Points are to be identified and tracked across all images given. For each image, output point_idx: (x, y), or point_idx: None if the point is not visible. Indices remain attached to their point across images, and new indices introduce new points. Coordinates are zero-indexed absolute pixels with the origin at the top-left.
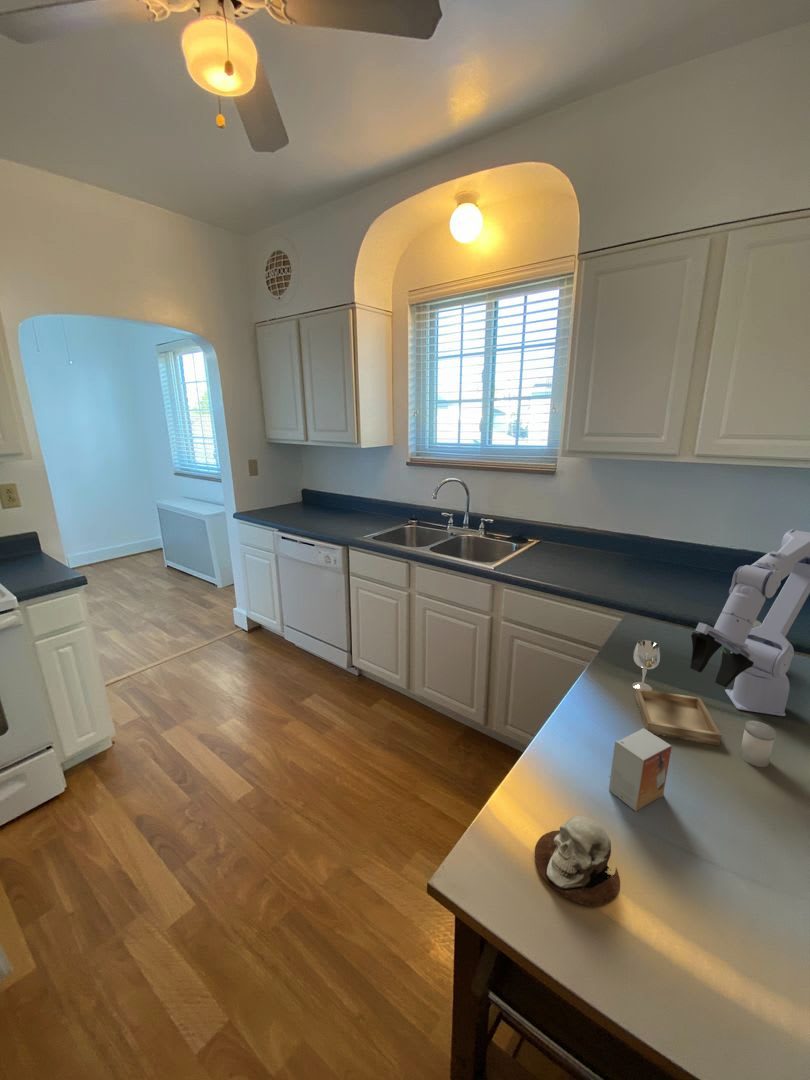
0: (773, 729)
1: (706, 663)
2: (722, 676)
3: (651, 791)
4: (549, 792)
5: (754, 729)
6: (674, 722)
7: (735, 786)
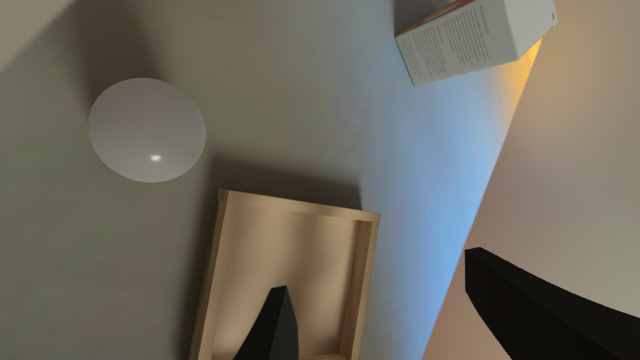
0: (90, 122)
1: (507, 274)
2: (290, 348)
3: (439, 11)
4: None
5: (185, 122)
6: (301, 256)
7: (260, 41)
